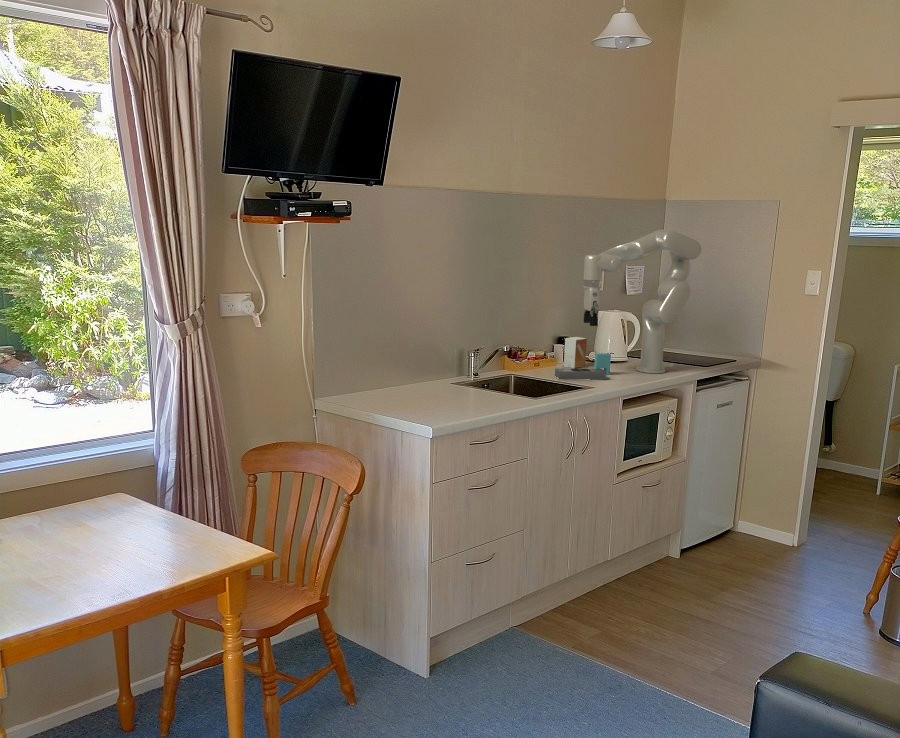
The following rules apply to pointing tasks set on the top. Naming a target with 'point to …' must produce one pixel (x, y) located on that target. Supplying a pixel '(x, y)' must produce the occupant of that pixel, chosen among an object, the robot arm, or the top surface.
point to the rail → (580, 373)
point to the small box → (575, 352)
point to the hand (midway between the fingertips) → (590, 324)
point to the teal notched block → (603, 362)
